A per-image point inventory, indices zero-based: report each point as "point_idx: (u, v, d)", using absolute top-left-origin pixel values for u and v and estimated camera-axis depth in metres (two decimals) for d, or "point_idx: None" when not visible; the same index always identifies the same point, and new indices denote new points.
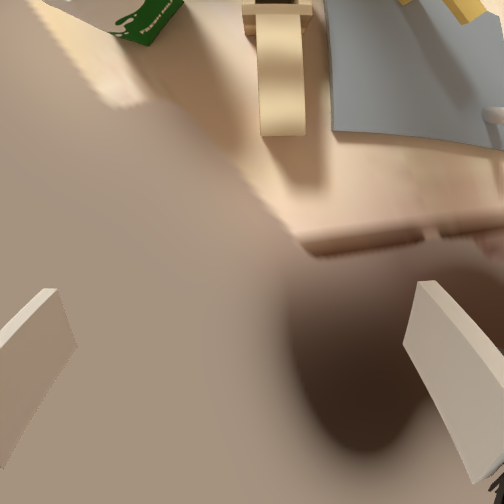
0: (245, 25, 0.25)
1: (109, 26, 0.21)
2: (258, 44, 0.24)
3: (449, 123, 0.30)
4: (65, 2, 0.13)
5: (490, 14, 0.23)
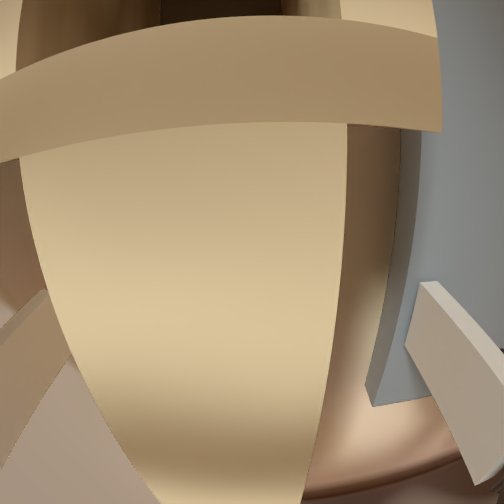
0: None
1: None
2: (80, 359, 0.04)
3: None
4: None
5: None
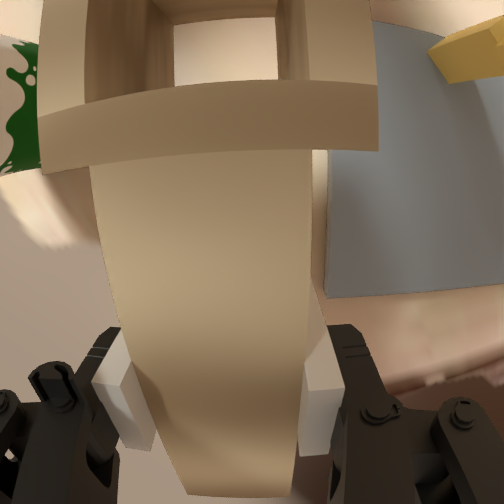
0: None
1: None
2: (123, 317, 0.06)
3: (484, 263, 0.22)
4: None
5: None
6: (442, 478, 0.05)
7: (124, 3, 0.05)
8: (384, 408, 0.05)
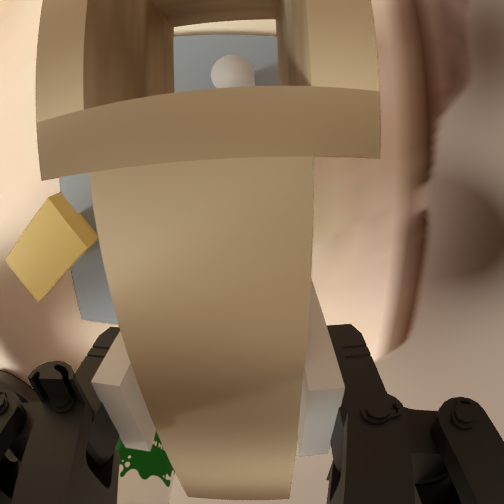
0: None
1: (171, 485, 0.31)
2: (123, 323, 0.06)
3: None
4: None
5: None
6: (442, 478, 0.05)
7: (123, 6, 0.05)
8: (384, 408, 0.05)
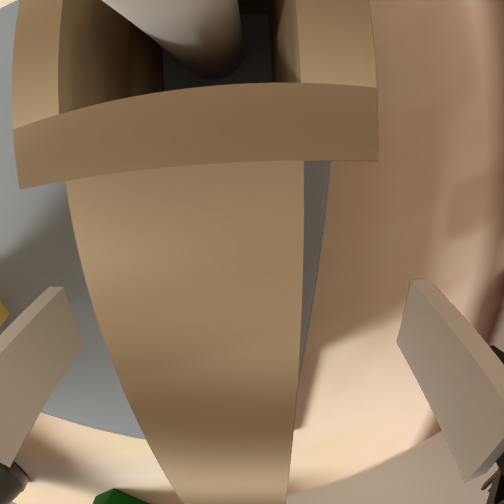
0: None
1: None
2: (107, 336, 0.06)
3: None
4: None
5: None
6: None
7: None
8: None
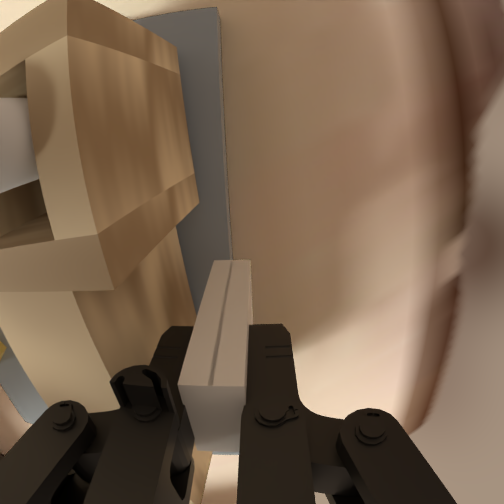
0: None
1: None
2: (29, 376, 0.08)
3: None
4: None
5: None
6: None
7: None
8: (279, 410, 0.05)
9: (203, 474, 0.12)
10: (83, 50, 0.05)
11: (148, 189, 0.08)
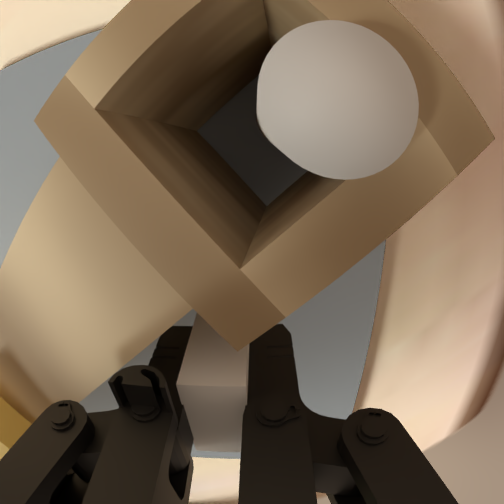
0: None
1: None
2: (8, 260, 0.06)
3: None
4: None
5: None
6: None
7: (228, 30, 0.06)
8: (280, 410, 0.05)
9: None
10: None
11: None
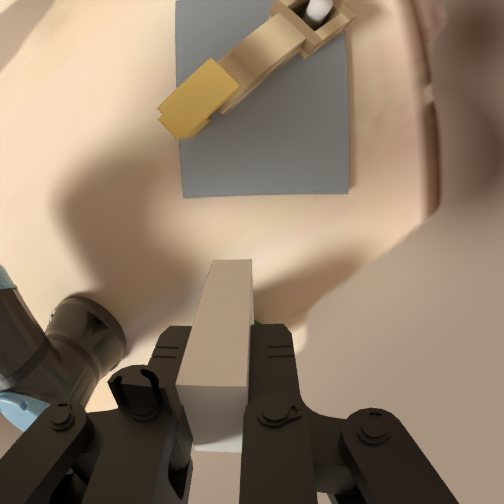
0: (270, 16, 0.27)
1: None
2: (256, 30, 0.26)
3: (330, 75, 0.33)
4: None
5: (178, 12, 0.30)
6: None
7: None
8: (281, 410, 0.05)
9: (224, 109, 0.31)
10: (346, 23, 0.25)
11: (320, 44, 0.28)
